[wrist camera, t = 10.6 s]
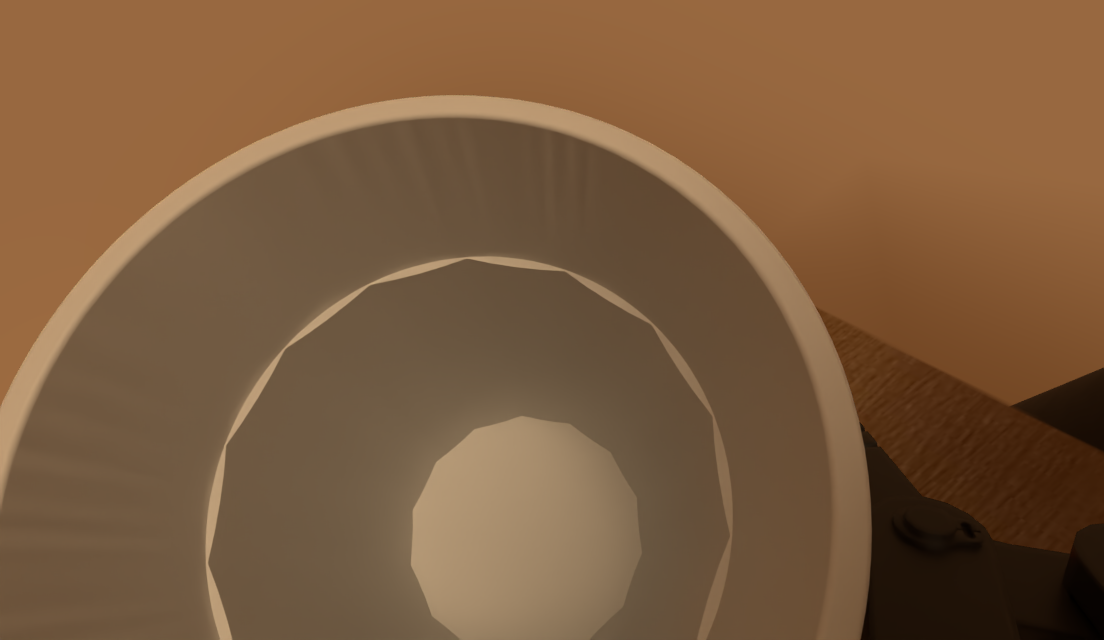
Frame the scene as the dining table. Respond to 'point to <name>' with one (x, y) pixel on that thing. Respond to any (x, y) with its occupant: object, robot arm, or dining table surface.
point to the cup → (436, 403)
